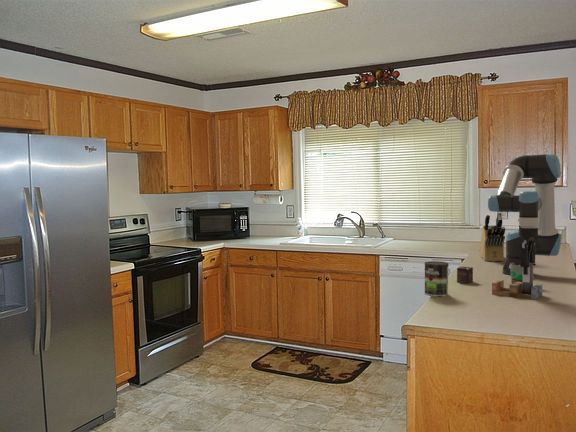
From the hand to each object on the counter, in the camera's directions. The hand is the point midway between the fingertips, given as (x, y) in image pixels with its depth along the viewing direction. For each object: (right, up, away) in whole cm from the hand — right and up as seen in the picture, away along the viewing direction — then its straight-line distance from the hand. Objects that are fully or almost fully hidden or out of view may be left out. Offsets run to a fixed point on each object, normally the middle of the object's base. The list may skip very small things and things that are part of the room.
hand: (527, 281), depth 225 cm
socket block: (-3, -6, +3) cm, 8 cm away
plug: (0, -4, 0) cm, 4 cm away
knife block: (+27, 0, +108) cm, 111 cm away
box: (-15, -5, +35) cm, 38 cm away
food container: (+6, -5, +24) cm, 26 cm away
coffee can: (-37, -7, +7) cm, 39 cm away
